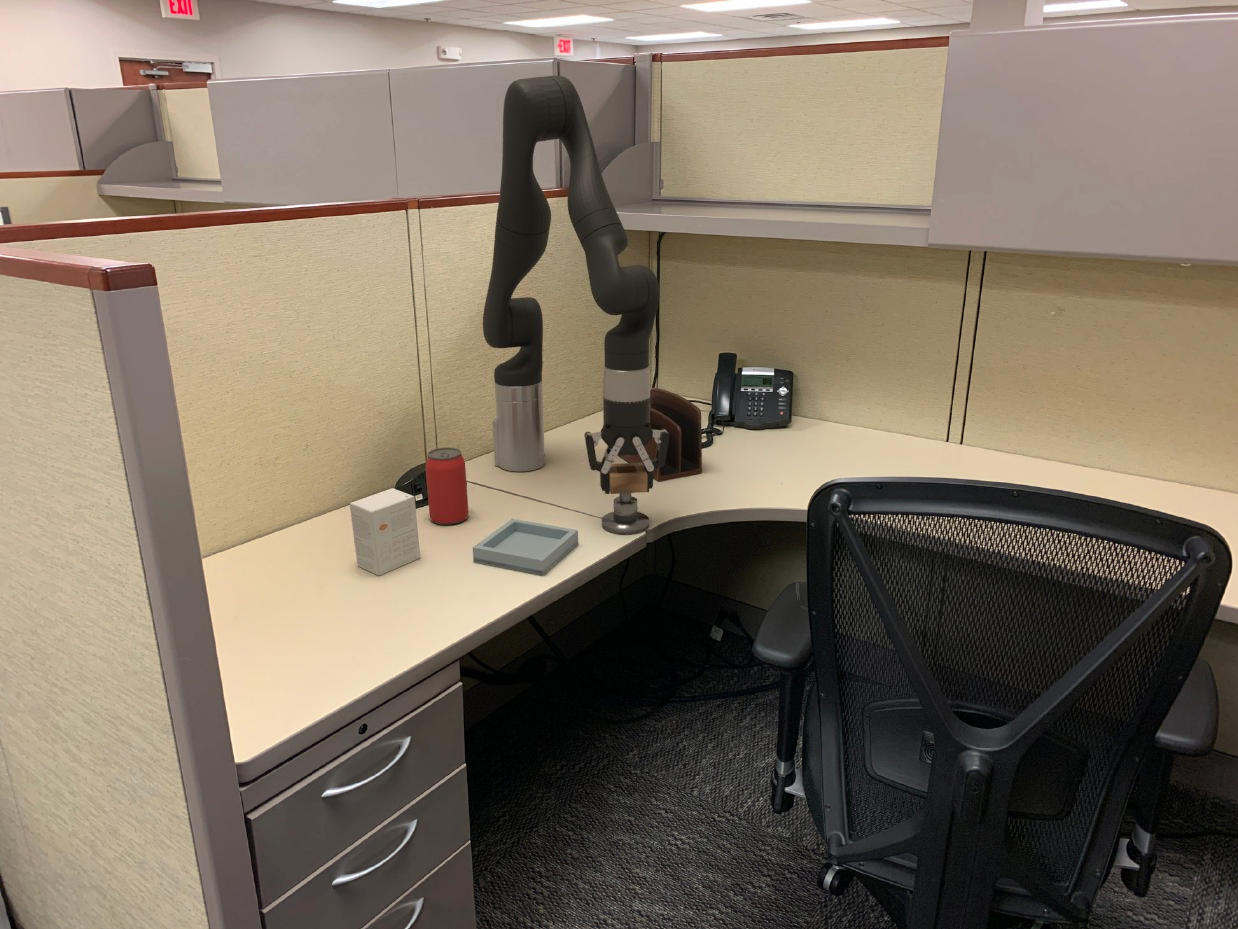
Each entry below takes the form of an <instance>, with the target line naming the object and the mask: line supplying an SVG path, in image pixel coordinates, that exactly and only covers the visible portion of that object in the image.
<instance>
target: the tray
mask: <svg viewBox="0 0 1238 929" xmlns="http://www.w3.org/2000/svg"><path fill="white" fill-rule="evenodd" d="M577 546H579V530H578V529H575V528H567V527H563V526H562V527H561V526H557V525H556V526H555V525H551V524H545V523H541V522H540V523H539V522H534V521H528V520H523V519H522V520H521V519H517V518H510V520H508V521H507V522H505V523H504V524H503V525H501V526H500V527H499V528H497V529H495V531H493V532H492V533H490V534H489V535H488V536H486V537H485V538H483V539H482V540H481V541H479V542H478V543H477V544H475V545H474V546H472V557H473V558H472V560H473V563H476V564H481V565H485V566H486V565H487V566H491V567H496V568H501V569H506V570H510V571H516V572H521V573H527V574H531V575H536V576H541V577H543V576H545V575H546V574H547V573H548V572H549V571H550V570H551V569H553V568H554V567H555V566H556V565H557V564H558V563H559V562H560V561H561V560H563V559H564V558H565V557H566V556H567V555H568V554H569V553H570V552H571V551H573V549H575V548H576V547H577Z"/></svg>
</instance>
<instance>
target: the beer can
mask: <svg viewBox="0 0 1238 929" xmlns="http://www.w3.org/2000/svg"><path fill="white" fill-rule="evenodd" d="M466 470H467V468H466V462H465V458H464V457H463V455H462V451H461V450H460V449H458V447H449V446H448V447H438V448H433V449H431V450H430V451H428V452H427V458H426V463H425V475H426V476H425V479H426V490H427V501H428V511H429V512H428V513H429V519H430V520H431V522H434V523H435V524H437V525H441V526H442V525H443V526H445V525H448V526H449V525H456V524H460V523H462V522H464V521H465V520H466V519H467V518H469V514H470V513H469V499H468V486H467V473H466V472H467V471H466Z"/></svg>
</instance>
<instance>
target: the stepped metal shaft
mask: <svg viewBox="0 0 1238 929" xmlns="http://www.w3.org/2000/svg"><path fill="white" fill-rule="evenodd" d="M618 495H619V496H616V497H615V498H614V499H613V511H611V512H608V513H606V514H605V515H603V516H602V517H601V528H602V529H603V530H604V531H606V532H608V533H610V534H614V535H622V536H629V535H631V536H632V535H637V534H641V533H643V532H645V531H647V530H648V529H649V528H650V517H649V516H648V515H647V514H645V513H643V512H640V511H638V502H639V501H638V499H637V497H634V496H632V493H621V494H618Z"/></svg>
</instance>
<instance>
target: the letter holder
mask: <svg viewBox="0 0 1238 929" xmlns="http://www.w3.org/2000/svg"><path fill="white" fill-rule="evenodd" d="M650 426H651V428H652V430H661V429H666V431H667V432H668V434H669V442H668V448H667V454H666V460H665V465H664V467H658V468H656V469H654V471H653V480H655V481H657V482H663V481H668V480H675V479H680V478H686V477H690V476H697V475H700V474H702V472H703V458H702V456H703V455H702V454H703V452H702V450H703V449H702V448H703V447H702V446H703V445H702V444H703V443H702V442H703V438H702V437H703V436H702V411H701V409H700V408H699V407H698V406H697V405H695V404H694V403H693V402H691V401H690V400H688V399H686V398H685V397H682V396H681V395H679V394H677V393H674V392H672V391H669V390H666V389H663V388H659V387H650ZM657 444H658V443H656V441H655V437H653V436H652V438H651V439H650V440H649V442H648V443H647V444H646V446H645V447H644V448H645V450H646V452H647V454H648V456H649V458H650V460H651V459H654V458H655V457H656V451H657ZM618 457H620V458H621V459H622V460H624V461H626V463H642V464H643V466H644V468H645V465H644V463H643V461H642V459H641V457H640V455H639V453H638V454H637V455H629V454H627V455H624V456H618Z"/></svg>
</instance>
